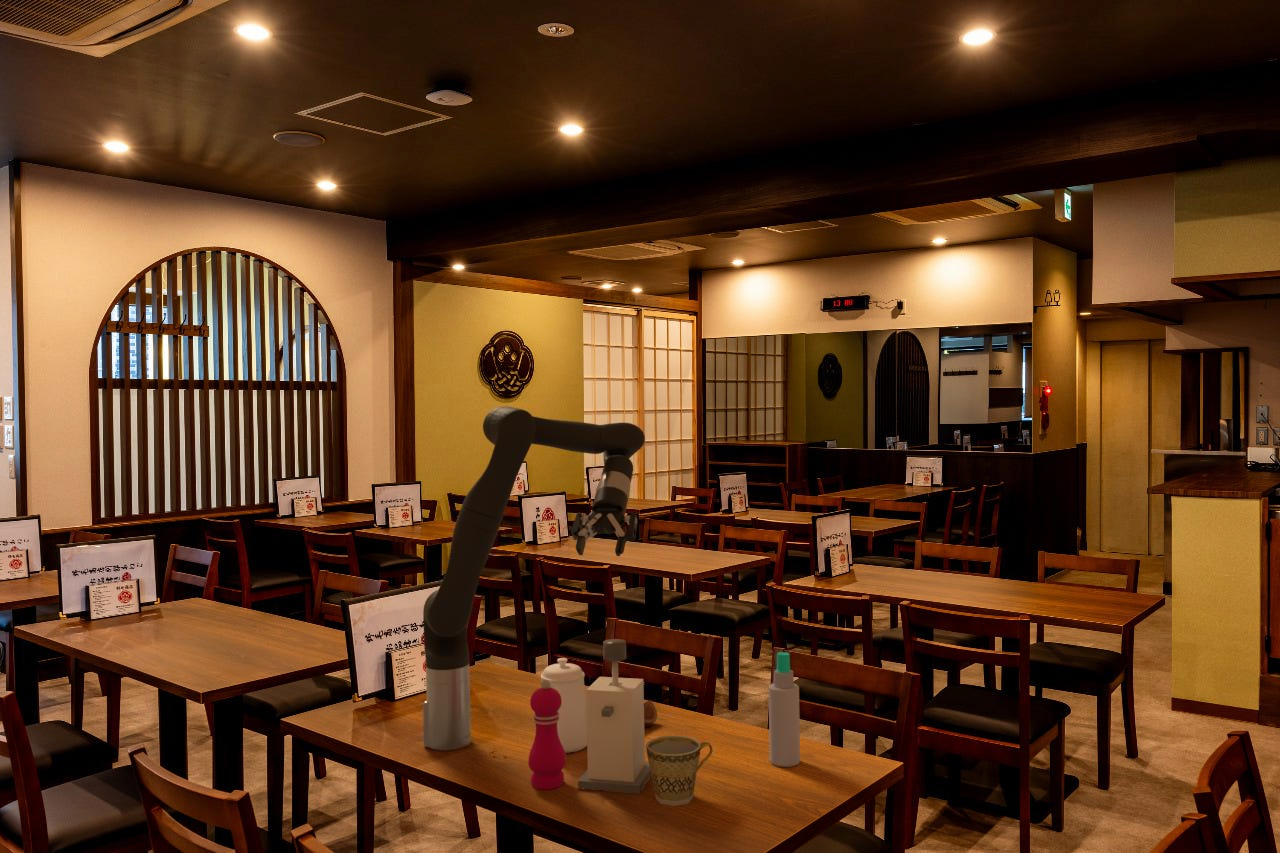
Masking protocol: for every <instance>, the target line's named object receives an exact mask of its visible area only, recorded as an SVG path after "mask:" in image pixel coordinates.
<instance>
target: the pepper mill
mask: <svg viewBox="0 0 1280 853" xmlns="http://www.w3.org/2000/svg"><path fill="white" fill-rule="evenodd" d="M540 686H541V687H542V688H541V687H540V688H538V689H536V690H535V691H533V692H532V694H531V696H530V700H529V701H530V702H529V705H530V707H531V710H532V711H533V712H534V713H533V715H532V717H533V719H532V720H533V723H535V736H534V740H533V742H532V746H531V748H530V751H529V754H528V767H529V769H530V770H531V771H532V773H531V775H530V777H531V778H530V779H531V780H530V782H531V783H530V784H531V786H532V787H533V788H535V789H539V790H554V789H557V788H559V787H561V786H563V785H564V783H565V774H564V772H563V771H562V770H563V769H564V768H565V766H566V763H567V758H566V757H567V756H566V753H565V752H564V749H563V746H562V744H561V742H560V739H559V736H558V731H557V722H558V721H559V712H557V711H558V710H559V709H560V707H561V704H562V700H561V696H560V693H559V692H558V691H557V690H556V689H554V688H550V682H549V681H548V680H544V681H542V680H541V682H540Z"/></svg>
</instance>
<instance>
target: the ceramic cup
mask: <svg viewBox="0 0 1280 853" xmlns="http://www.w3.org/2000/svg"><path fill="white" fill-rule="evenodd" d="M645 745H646V746H645V747H646V753H647V754H646V755H647V762H649V766H650V770H651V776H650V777H651V781H652V784H653V785H652V786H653V790H654V796H655V799H656V801H657V802H658V803H659V804H661V805H662V806H663V805H665V806H671V807H678V806H683V805H688V804H690V802H691V801H692V800H693V798H694V793H695V786H696V784H695V783H696V778H697V773H698V771H699V770H700V769H701V767H702V766H703V765H704V764H705V762H706V761H707V760H708V759H709V758H710V757H711V756H712V755H713V754H712V753H713V746H712V744H710V742H706V741H705V742H704V741H703V742H700V741H698V740H697V739H695V738H692V737H689V736H684V735H664V736H659V737H656V738H653V739H651V740H649V741H647V743H646V744H645ZM707 746H708V748H709V753H707V755H706V756H705V757H704V758H703V759H702V760H701V761H700V755H701V751H702V749H704V748H705V747H707ZM699 762H700V763H699Z"/></svg>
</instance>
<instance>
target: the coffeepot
mask: <svg viewBox="0 0 1280 853" xmlns="http://www.w3.org/2000/svg"><path fill="white" fill-rule="evenodd" d="M556 662H557V663H553V664H551V665H548V666H546V667H545V668H544V670H543V672H542V673H541V675H540V680H541V682H542V681H544V680H548V681H549V682H550V688H554V689H556V690H557V691H558V692H559V693H560V696H561V700H562V704H561V707H560V709H559V710H558V711H557V712H559V721H558V722H557V731H558V736H559V739H560V742H561V744H562V746H563V749H564V752H565V754H571V752H572V753H577V752H579V751H581V750H583V749H585V748H587V702H586V690H585V675H586V674H585V672H584V671H583V670H582V668H581V667H580V666H579V665H577V664H574V663H570V662H568V658H566V657H560V658H557V659H556ZM567 662H568V663H567ZM540 688H542V687H540Z"/></svg>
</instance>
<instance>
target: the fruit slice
mask: <svg viewBox="0 0 1280 853" xmlns="http://www.w3.org/2000/svg"><path fill="white" fill-rule="evenodd" d="M657 718H658V711H657V709H656V707H655V704H654V703H653V702H652V700H651V699H648V700H647V701H645V702H644V728H647V727H649V726H651V725H653V724H654V723H656V721H657Z"/></svg>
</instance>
